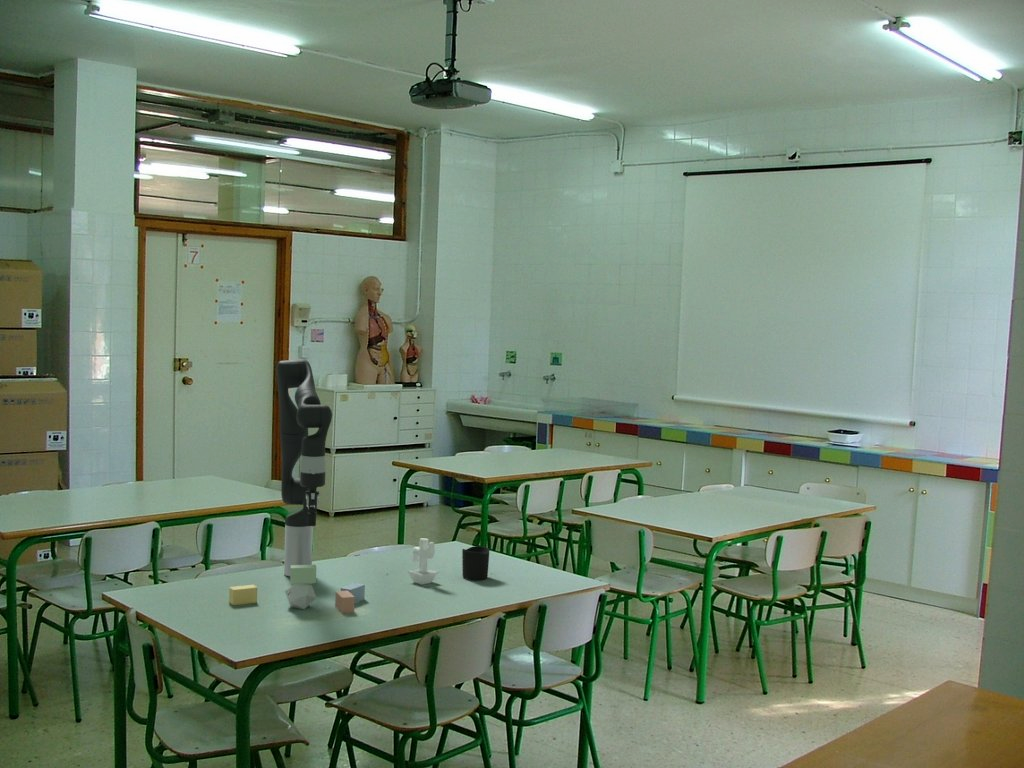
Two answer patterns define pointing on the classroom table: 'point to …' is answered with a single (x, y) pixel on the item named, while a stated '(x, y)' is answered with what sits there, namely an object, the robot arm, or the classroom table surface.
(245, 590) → the ochre brick
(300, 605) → the die
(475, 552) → the pen holder
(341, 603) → the terracotta brick
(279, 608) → the classroom table surface
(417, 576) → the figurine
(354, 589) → the slate brick
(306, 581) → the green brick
